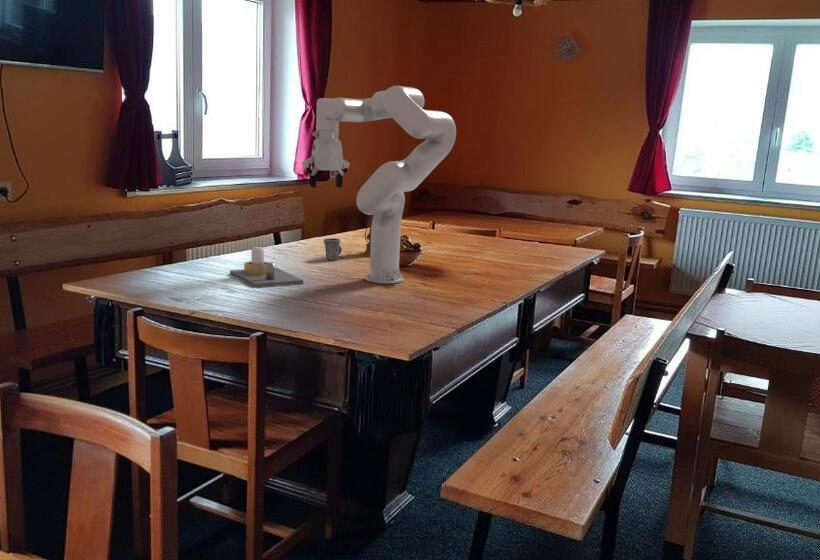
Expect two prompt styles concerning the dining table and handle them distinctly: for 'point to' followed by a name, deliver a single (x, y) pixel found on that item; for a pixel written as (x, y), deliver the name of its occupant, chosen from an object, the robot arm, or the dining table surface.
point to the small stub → (270, 271)
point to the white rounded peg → (257, 256)
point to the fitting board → (261, 280)
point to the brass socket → (254, 268)
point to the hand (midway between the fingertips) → (326, 187)
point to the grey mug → (332, 248)
